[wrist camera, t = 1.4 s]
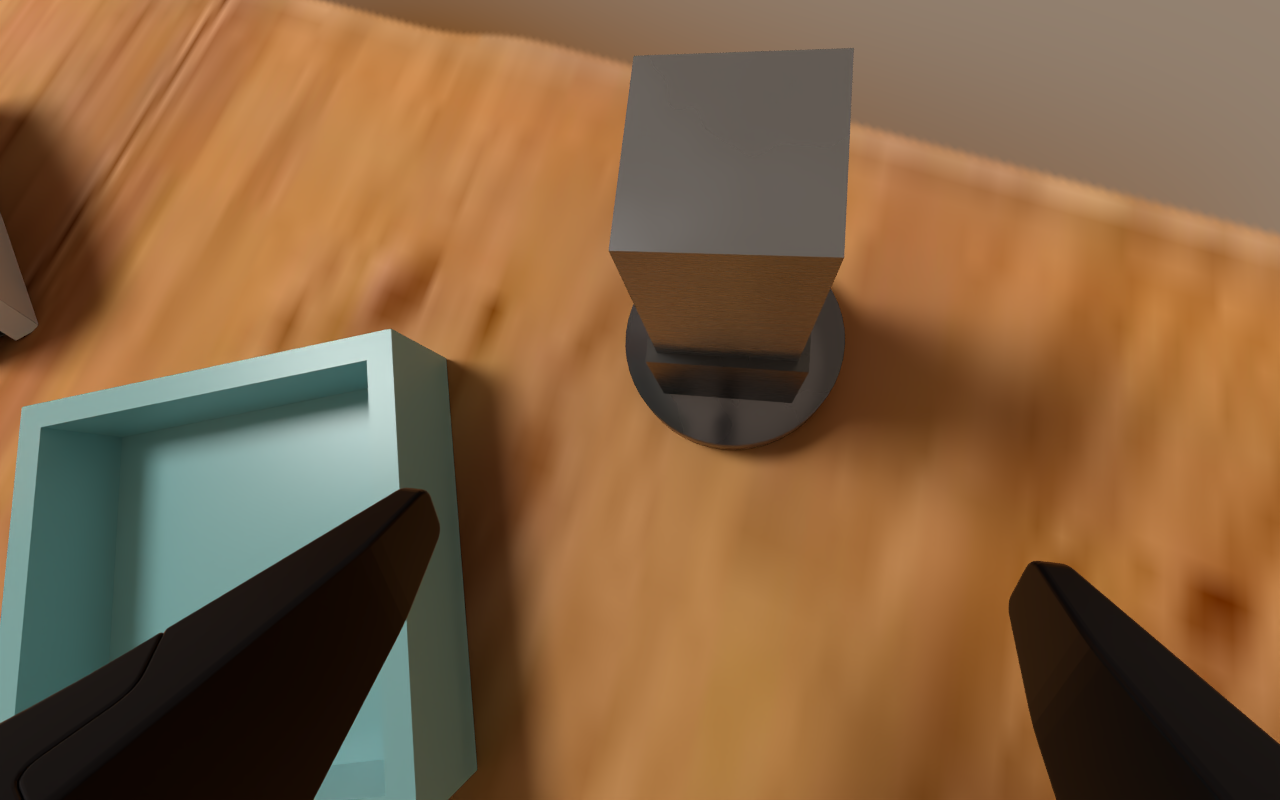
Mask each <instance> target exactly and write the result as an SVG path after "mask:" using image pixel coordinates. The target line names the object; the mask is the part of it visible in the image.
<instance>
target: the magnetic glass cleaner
mask: <svg viewBox="0 0 1280 800" xmlns="http://www.w3.org/2000/svg"><path fill="white" fill-rule="evenodd" d="M37 326H38V322H37V319H36V316H35V313H34V310H33V307H32V304H31V301H30V298H29V295H28V292H27V289H26V286H25V283H24V280H23V277H22V275H21V272H20V269H19V266H18V263H17V260H16V257H15V254H14V251H13V248H12V245H11V242H10V239H9V236H8V233H7V230H6V227H5V224H4V221H3V219H2V216H1V213H0V336H3V335H8V336H9V337H11V338H12V339H14V340H18V339H20V338H22V337H23V336H25V335H27V334H29V333H31V332H32V331H33V330H34V329H35V328H36V327H37Z"/></svg>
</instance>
